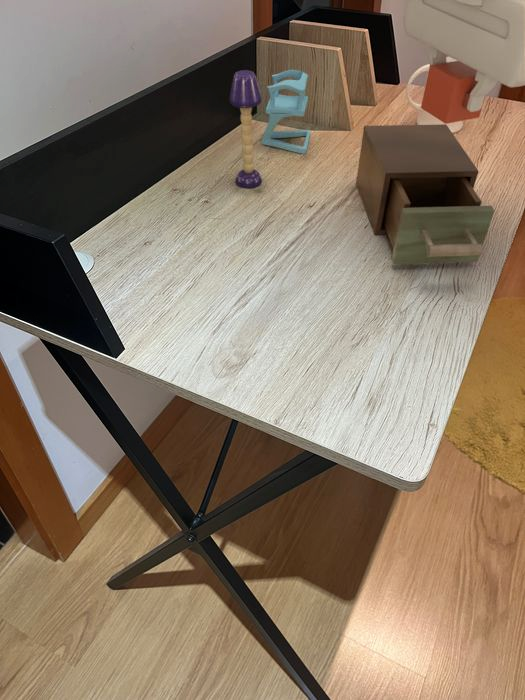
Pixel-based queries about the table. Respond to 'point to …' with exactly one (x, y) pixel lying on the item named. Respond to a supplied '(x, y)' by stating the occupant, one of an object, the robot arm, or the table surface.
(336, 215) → the table surface
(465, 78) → the block
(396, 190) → the drawer
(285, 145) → the chair
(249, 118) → the toy lamp
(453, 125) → the mug
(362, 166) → the cabinet
